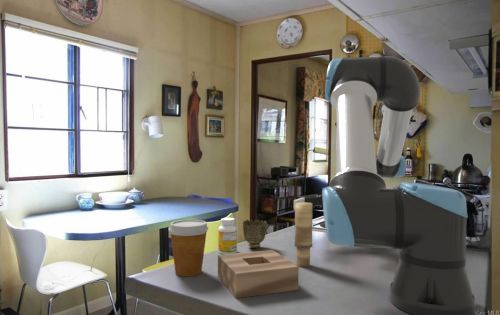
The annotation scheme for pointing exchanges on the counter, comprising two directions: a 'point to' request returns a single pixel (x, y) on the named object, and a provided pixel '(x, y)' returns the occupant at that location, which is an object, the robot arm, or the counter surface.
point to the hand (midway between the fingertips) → (317, 207)
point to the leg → (303, 232)
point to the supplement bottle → (227, 236)
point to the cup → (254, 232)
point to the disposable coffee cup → (188, 246)
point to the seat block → (257, 273)
